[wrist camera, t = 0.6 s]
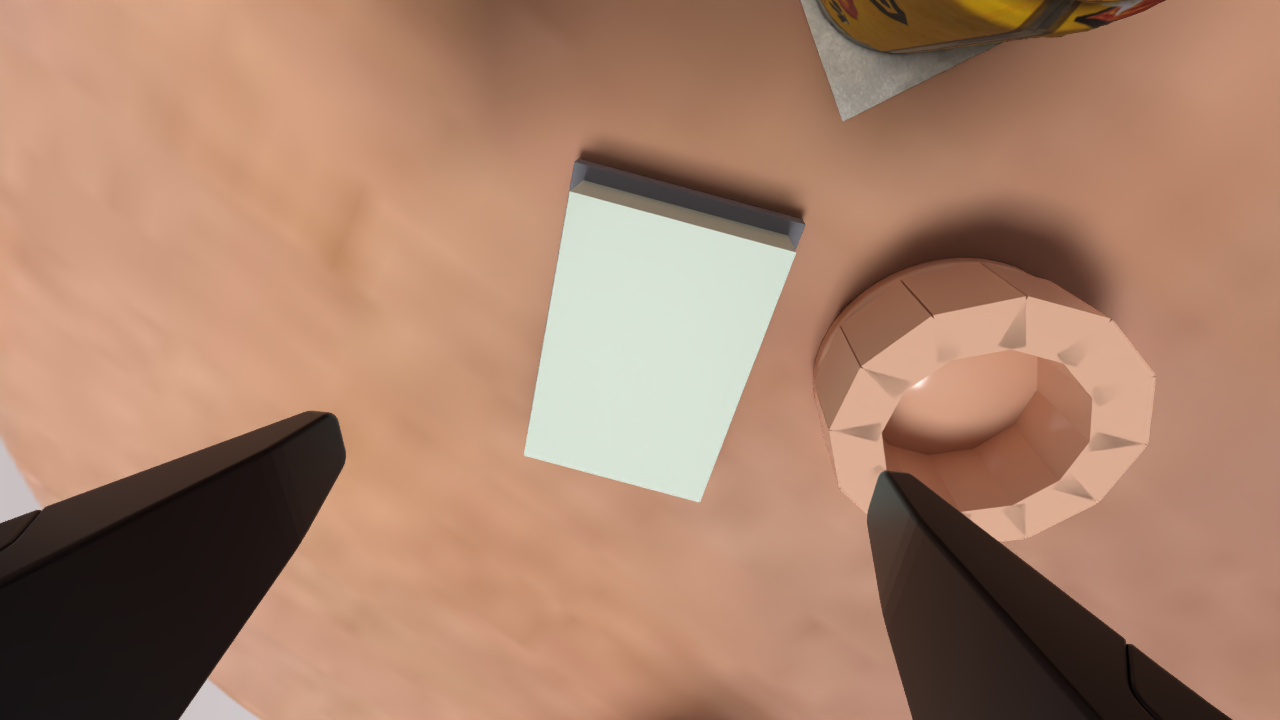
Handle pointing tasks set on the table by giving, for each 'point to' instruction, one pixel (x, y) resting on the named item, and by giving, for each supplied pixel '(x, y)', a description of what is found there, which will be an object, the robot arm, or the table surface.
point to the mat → (685, 201)
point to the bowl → (982, 394)
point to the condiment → (933, 37)
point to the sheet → (650, 337)
